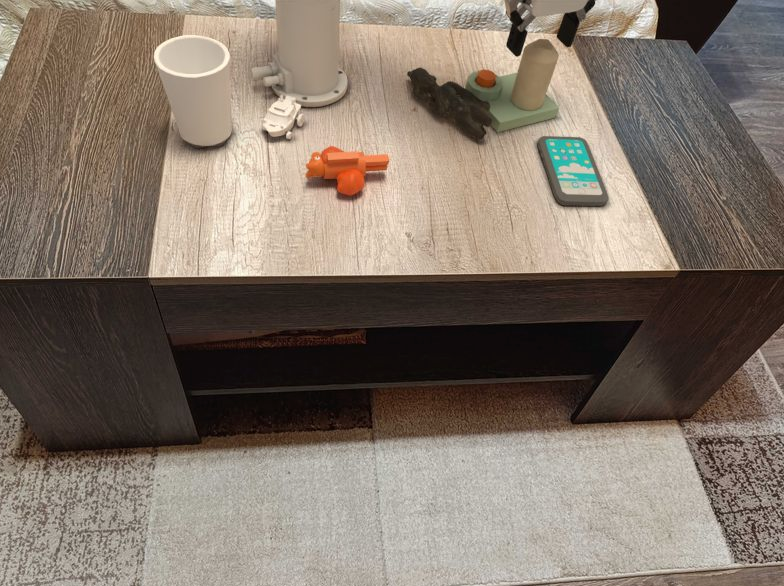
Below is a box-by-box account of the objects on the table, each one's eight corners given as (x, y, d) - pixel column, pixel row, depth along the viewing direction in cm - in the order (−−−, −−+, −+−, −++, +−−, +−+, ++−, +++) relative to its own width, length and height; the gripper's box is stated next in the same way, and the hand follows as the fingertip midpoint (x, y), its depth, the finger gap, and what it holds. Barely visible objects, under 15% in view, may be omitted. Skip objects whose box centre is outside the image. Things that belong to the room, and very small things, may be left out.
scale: (492, 133, 100) (497, 115, 98) (457, 93, 106) (461, 74, 103) (556, 117, 105) (562, 99, 102) (519, 79, 110) (525, 60, 107)
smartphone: (558, 200, 91) (536, 134, 100) (556, 205, 92) (534, 139, 100) (612, 201, 93) (586, 136, 101) (609, 206, 94) (584, 141, 102)
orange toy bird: (386, 136, 88) (302, 140, 86) (395, 182, 87) (310, 188, 84) (382, 155, 93) (302, 160, 91) (390, 200, 91) (309, 206, 89)
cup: (198, 165, 89) (181, 85, 79) (159, 130, 93) (138, 49, 82) (253, 138, 94) (245, 59, 83) (214, 106, 97) (201, 26, 87)
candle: (541, 114, 102) (560, 56, 93) (508, 107, 102) (525, 49, 93) (543, 95, 105) (562, 37, 96) (511, 88, 105) (528, 30, 97)
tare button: (482, 90, 102) (484, 81, 100) (472, 79, 103) (474, 71, 102) (497, 86, 103) (499, 78, 101) (487, 76, 104) (489, 68, 103)
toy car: (308, 118, 98) (307, 95, 94) (285, 147, 93) (284, 124, 90) (280, 109, 98) (278, 86, 95) (256, 138, 94) (254, 114, 90)
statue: (467, 139, 95) (387, 77, 103) (482, 150, 99) (404, 91, 108) (493, 103, 93) (409, 43, 101) (506, 116, 97) (425, 58, 106)
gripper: (612, -94, 86) (568, 26, 100) (510, -86, 80) (479, 41, 94) (646, -69, 83) (595, 52, 97) (542, -58, 77) (505, 69, 91)
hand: (538, 46), depth 96 cm, fingers open, 9 cm apart
